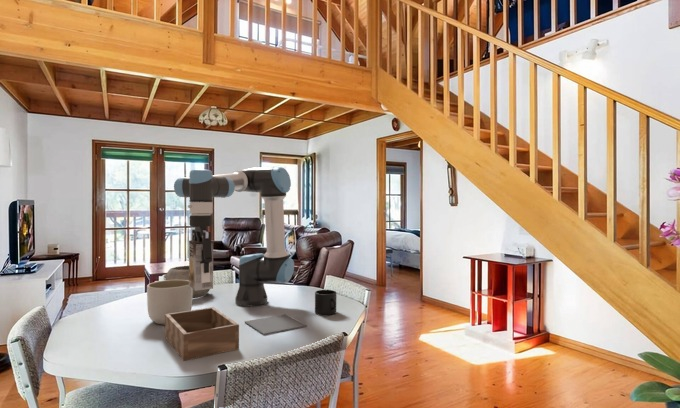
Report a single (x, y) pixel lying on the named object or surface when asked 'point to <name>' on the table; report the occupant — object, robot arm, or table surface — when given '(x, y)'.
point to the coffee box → (198, 266)
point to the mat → (274, 324)
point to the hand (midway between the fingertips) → (201, 279)
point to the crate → (201, 332)
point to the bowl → (183, 274)
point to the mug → (325, 302)
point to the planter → (168, 298)
